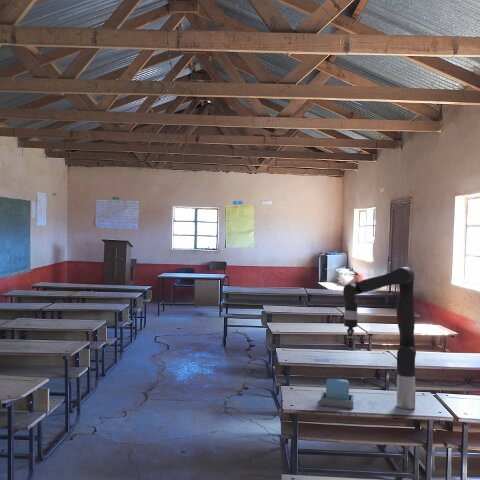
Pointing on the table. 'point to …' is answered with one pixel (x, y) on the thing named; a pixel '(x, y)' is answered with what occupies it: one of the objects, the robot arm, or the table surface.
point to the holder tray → (336, 402)
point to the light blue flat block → (337, 389)
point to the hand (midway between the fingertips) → (350, 346)
